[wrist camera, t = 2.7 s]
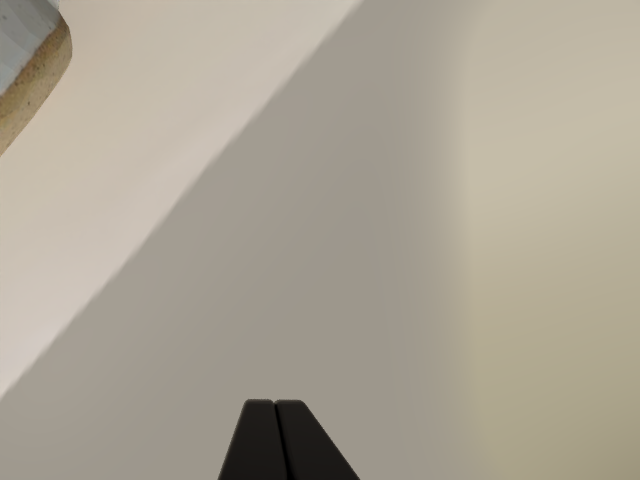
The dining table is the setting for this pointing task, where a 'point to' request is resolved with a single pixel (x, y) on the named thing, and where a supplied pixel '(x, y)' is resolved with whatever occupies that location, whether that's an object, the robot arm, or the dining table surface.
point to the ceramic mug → (29, 60)
